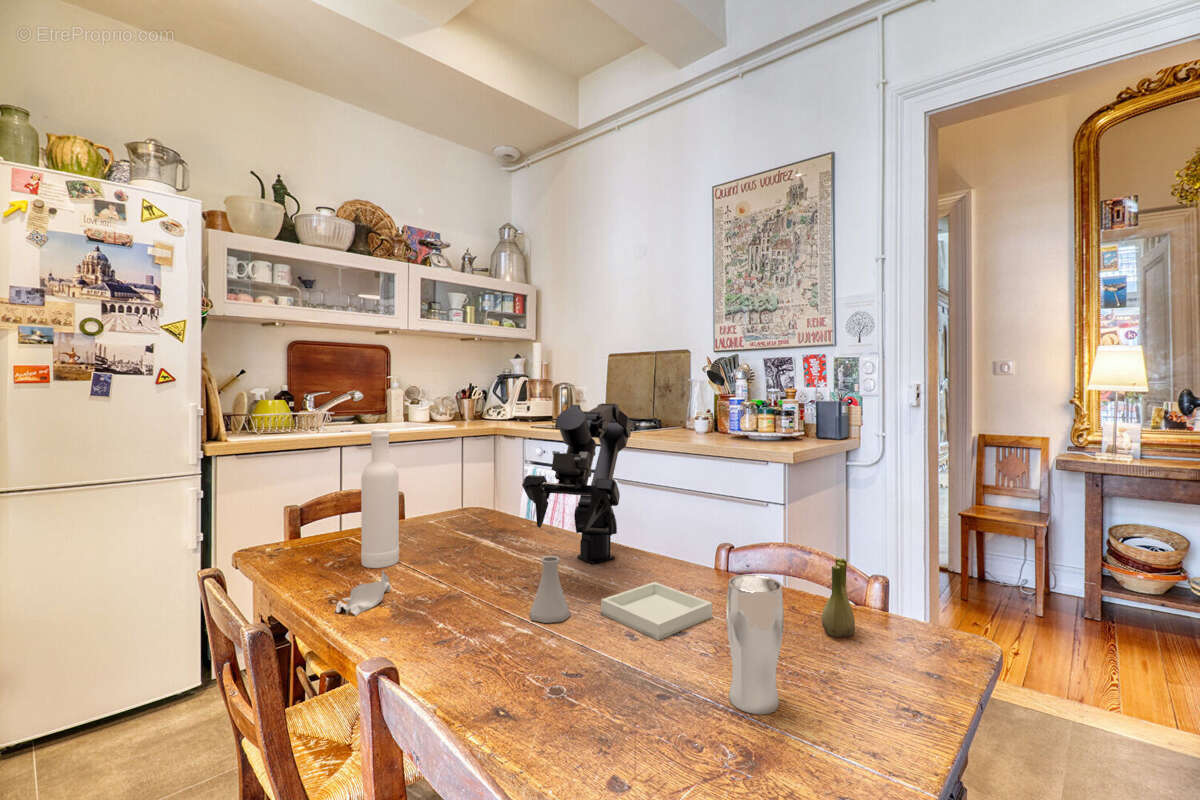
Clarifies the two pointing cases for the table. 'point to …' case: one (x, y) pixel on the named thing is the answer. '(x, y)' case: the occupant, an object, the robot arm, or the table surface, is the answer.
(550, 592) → the flask
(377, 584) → the wrapped candy
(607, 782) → the table surface
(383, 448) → the bottle
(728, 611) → the beer glass
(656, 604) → the tray
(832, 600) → the fennel bulb
